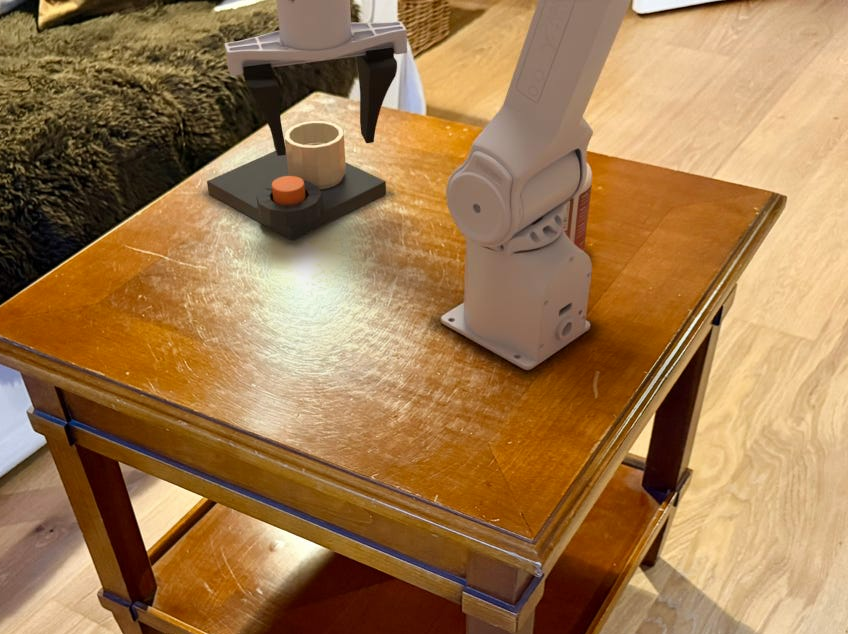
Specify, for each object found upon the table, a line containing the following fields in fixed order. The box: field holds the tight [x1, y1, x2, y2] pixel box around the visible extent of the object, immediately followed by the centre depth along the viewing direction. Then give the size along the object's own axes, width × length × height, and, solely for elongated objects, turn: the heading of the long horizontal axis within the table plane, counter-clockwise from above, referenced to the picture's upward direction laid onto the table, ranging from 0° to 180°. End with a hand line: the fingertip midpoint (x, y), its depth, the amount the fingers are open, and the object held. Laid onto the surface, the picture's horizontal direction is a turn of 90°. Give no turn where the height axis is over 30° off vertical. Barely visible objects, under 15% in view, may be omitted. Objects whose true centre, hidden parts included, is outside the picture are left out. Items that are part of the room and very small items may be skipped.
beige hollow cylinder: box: [284, 120, 346, 189], centre depth 98 cm, size 6×6×4 cm
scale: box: [206, 146, 387, 242], centre depth 98 cm, size 14×13×3 cm
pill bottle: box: [563, 162, 593, 252], centre depth 86 cm, size 6×6×11 cm
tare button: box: [272, 176, 306, 205], centre depth 93 cm, size 3×3×2 cm
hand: (324, 144), depth 87 cm, fingers open, 7 cm apart
